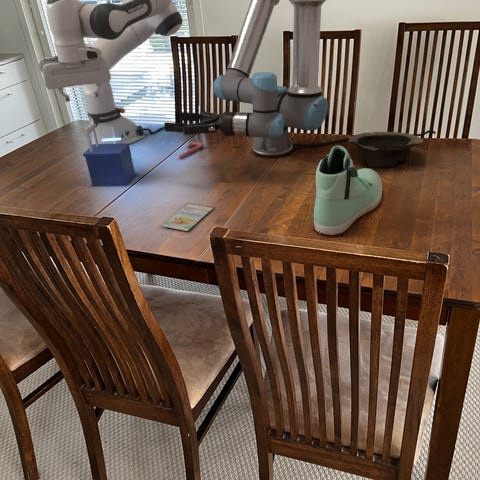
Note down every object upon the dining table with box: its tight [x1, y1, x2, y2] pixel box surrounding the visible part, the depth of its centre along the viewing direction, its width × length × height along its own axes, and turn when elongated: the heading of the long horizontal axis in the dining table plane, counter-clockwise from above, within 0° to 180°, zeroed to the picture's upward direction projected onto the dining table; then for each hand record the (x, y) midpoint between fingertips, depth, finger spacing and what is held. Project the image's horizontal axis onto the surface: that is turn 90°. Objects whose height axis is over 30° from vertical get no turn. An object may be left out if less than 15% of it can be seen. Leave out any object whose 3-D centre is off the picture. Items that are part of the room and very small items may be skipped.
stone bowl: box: [347, 131, 425, 168], centre depth 166 cm, size 25×25×9 cm
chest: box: [84, 146, 136, 187], centre depth 166 cm, size 12×10×11 cm
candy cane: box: [177, 141, 203, 159], centre depth 187 cm, size 6×15×2 cm, turn 145°
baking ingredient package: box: [160, 203, 214, 232], centre depth 141 cm, size 9×1×15 cm
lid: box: [82, 123, 130, 158], centre depth 161 cm, size 13×10×9 cm
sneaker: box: [313, 145, 383, 236], centre depth 133 cm, size 14×35×20 cm, turn 152°
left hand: (82, 99), depth 155 cm, fingers open, 8 cm apart
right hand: (172, 121), depth 158 cm, fingers open, 13 cm apart
